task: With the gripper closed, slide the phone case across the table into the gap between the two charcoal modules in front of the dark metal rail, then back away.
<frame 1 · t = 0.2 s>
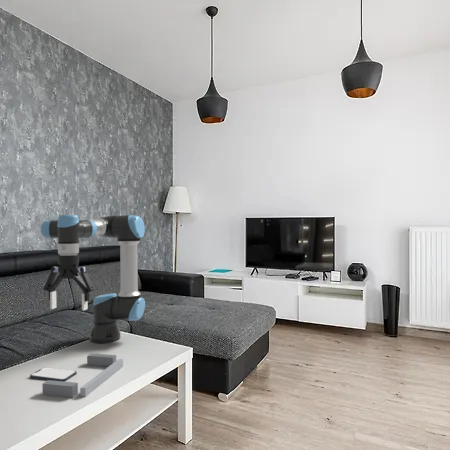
hand: (69, 309, 145), 28 cm above the table, tool pointing down, fingers open, 13 cm apart
phone case: (53, 377, 149), on the table
module rail: (82, 378, 146), on the table
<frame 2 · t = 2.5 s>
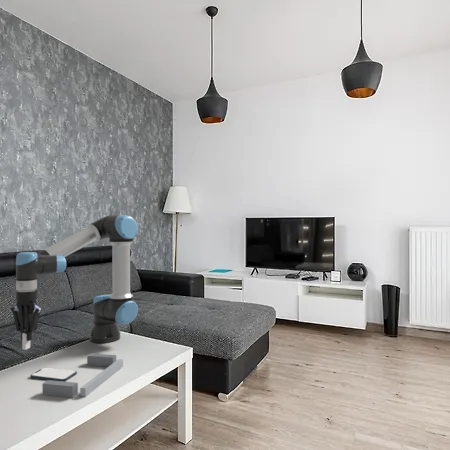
hand: (26, 348, 151), 10 cm above the table, tool pointing down, fingers closed
nothing on the table moved.
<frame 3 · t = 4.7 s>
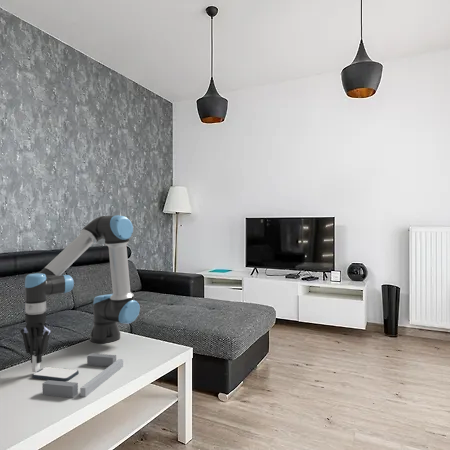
hand: (36, 370, 151), 1 cm above the table, tool pointing down, fingers closed
nothing on the table moved.
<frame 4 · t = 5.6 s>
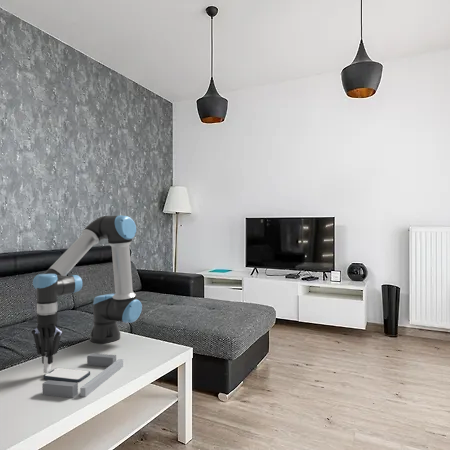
hand: (47, 371, 150), 1 cm above the table, tool pointing down, fingers closed
phone case: (67, 377, 148), on the table, touching gripper
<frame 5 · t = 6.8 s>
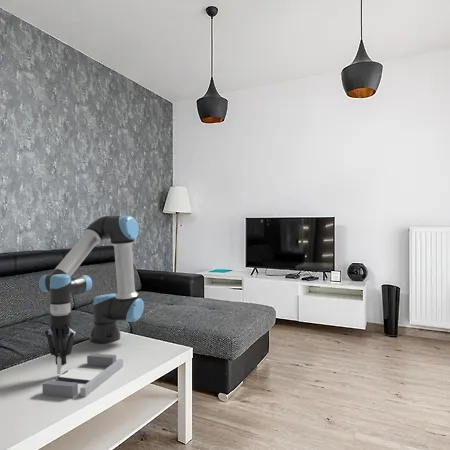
hand: (61, 372, 148), 1 cm above the table, tool pointing down, fingers closed
phone case: (81, 378, 147), on the table
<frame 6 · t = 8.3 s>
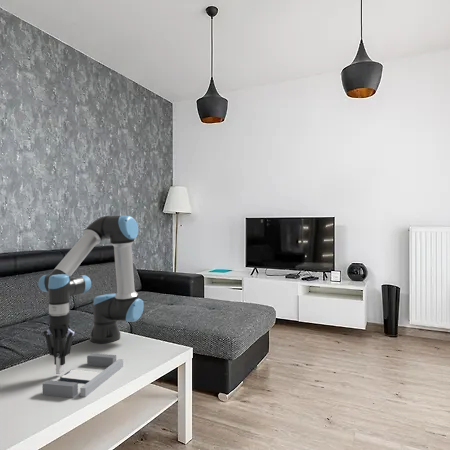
hand: (59, 372, 148), 1 cm above the table, tool pointing down, fingers closed
nothing on the table moved.
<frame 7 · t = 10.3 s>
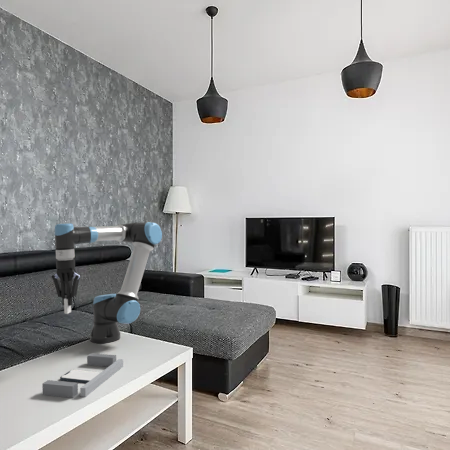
hand: (67, 312, 163), 22 cm above the table, tool pointing down, fingers closed
nothing on the table moved.
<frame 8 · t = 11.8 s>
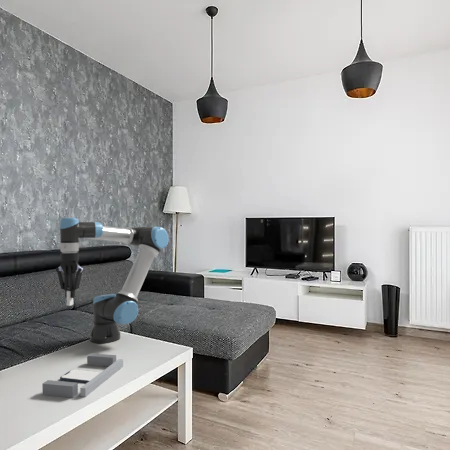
hand: (70, 305, 166), 24 cm above the table, tool pointing down, fingers closed
nothing on the table moved.
at the end: phone case inside the target area on the module rail (0.7 cm from its centre), point -0.7 cm above the module rail's base; phone case tilted 1°; the gripper is holding nothing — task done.
